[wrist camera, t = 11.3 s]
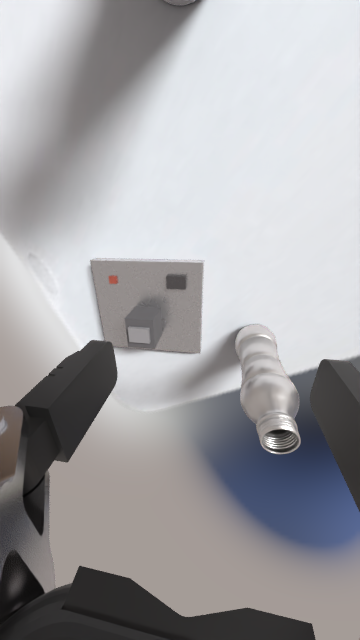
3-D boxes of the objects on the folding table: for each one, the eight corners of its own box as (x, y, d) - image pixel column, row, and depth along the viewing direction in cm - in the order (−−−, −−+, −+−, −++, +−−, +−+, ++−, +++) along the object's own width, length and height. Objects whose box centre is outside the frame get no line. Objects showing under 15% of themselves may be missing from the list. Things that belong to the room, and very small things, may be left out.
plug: (139, 301, 39) (122, 320, 33) (163, 303, 39) (151, 322, 32) (141, 326, 42) (126, 348, 35) (164, 328, 41) (153, 351, 34)
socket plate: (96, 258, 37) (87, 261, 35) (203, 260, 35) (202, 263, 32) (110, 340, 44) (103, 347, 42) (200, 347, 41) (199, 356, 39)
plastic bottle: (281, 330, 37) (335, 435, 20) (258, 358, 40) (287, 472, 23) (247, 313, 37) (271, 405, 19) (226, 343, 40) (231, 446, 22)
